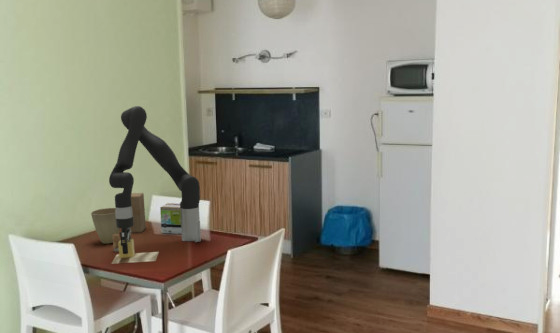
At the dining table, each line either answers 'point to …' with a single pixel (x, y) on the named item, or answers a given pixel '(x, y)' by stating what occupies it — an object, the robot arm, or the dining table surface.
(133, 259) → the panel
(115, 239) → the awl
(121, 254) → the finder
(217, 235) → the dining table surface
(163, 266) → the dining table surface
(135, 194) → the wooden block
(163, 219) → the tea box
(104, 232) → the plant pot
